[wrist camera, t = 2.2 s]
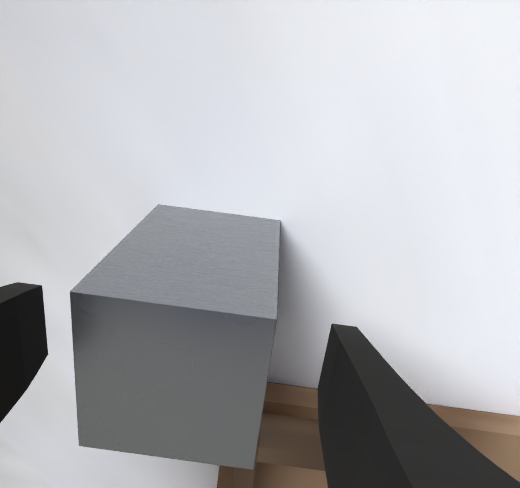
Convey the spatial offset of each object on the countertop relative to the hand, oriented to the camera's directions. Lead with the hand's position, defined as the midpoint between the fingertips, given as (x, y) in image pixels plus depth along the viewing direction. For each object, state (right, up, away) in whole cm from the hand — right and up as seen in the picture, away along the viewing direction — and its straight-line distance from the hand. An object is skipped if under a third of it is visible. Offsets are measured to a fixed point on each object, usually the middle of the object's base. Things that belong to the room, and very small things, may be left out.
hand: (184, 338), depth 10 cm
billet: (0, +2, +4) cm, 4 cm away
